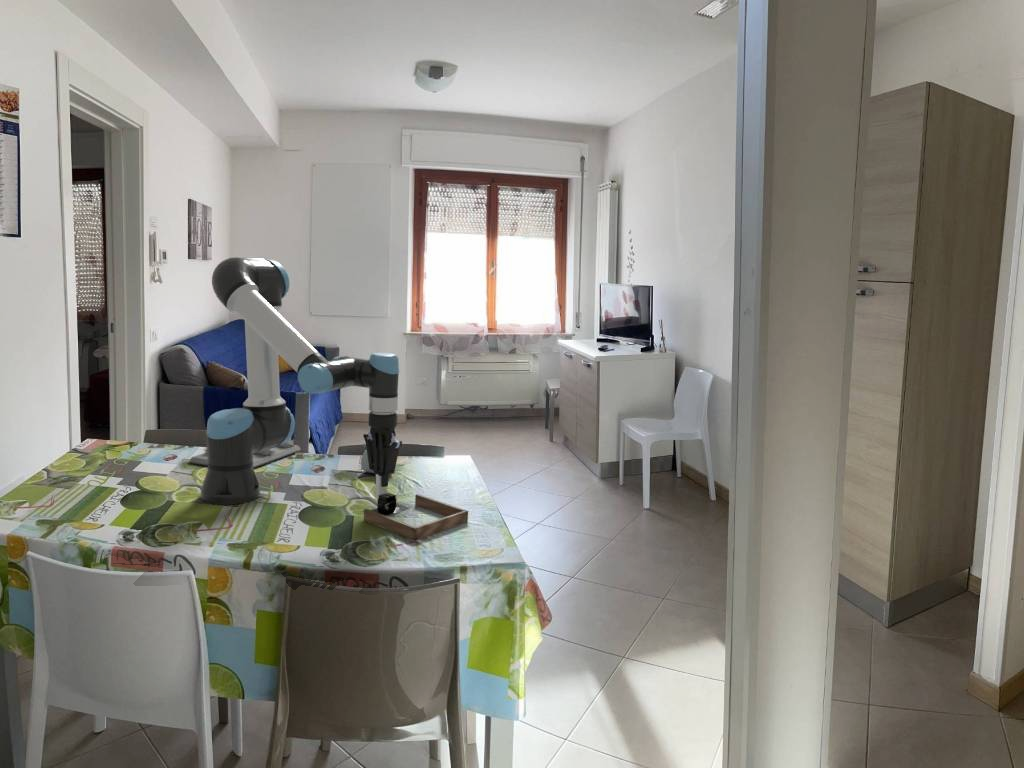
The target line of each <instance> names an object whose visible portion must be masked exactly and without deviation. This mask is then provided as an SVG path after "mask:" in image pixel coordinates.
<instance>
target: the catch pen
mask: <svg viewBox="0 0 1024 768" xmlns="http://www.w3.org/2000/svg"><path fill="white" fill-rule="evenodd" d="M414 501H415V503H414V506H417V507H420V508H422V509H425V510H428V511H431V512H434V513H437V514H440V515H443V516H444V517H441V518H438V519H435V520H432V521H429V522H426V523H424V524H420V525H417V526H414V525H411V524H408V523H405V522H403V521H400V520H399V519H395V518H393V517H390V516H388V515H387V516H385V515H382V514H379V513H377V512H374V511H371V510H370V509H368V508H363V511H364V512H363V521H364V522H366V523H369V524H371V525H375V526H377V527H380V528H382V529H385V530H387V531H389V532H392V533H394V534H397V535H399V536H401V537H405V538H407V539H410V540H413V541H417V540H421V539H423V538H427V537H429V536H432V535H434V534H437V533H440V532H442V531H446V530H449V529H451V528H454V527H457V526H460V525H463V524H465V523H468V522H469V510H466V509H464V508H460V507H457V506H454V505H452V504H448V503H446V502H443V501H440V500H437V499H434V498H432V497H431V498H430V497H427V496H425V495H422V494H419V493H416V494H415V499H414Z"/></svg>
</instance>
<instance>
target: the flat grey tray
mask: <svg viewBox="0 0 1024 768" xmlns="http://www.w3.org/2000/svg"><path fill="white" fill-rule="evenodd" d="M294 443H295V442H294V439H292V437H291V438H290V439H289V440H288V441H287V442H285V443H284V444H281V445H279V446H278V447H275V448H269V449H266V450H263V451H259V452H256V453H253V469H254V470H255V468H258V467H261V466H264V465H267V464H269V463H272V462H275V461H277V460H279V459H282V458H283V459H284V458H285V457H289V456H290V455H291V456H292V455H294V454H297V453H299V452H300V451H301V450H302V449H301V447H300V445H297V444H294ZM189 462H190V463H191V464H194V465H195V464H196V465H201V466H205V467H208V460H207V444H206V445H205V448H204V449H203V453H201V454H198V455H195V456H192V457H191V458H190V459H189Z"/></svg>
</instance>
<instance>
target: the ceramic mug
mask: <svg viewBox="0 0 1024 768" xmlns="http://www.w3.org/2000/svg"><path fill="white" fill-rule="evenodd" d="M373 465H374V464H373ZM360 467H361V469H362V470H363V471H364V472H366V473H371V474H375V473H374V471H373V470H370V469H369V463H368V456H367V448H366V449H365V450H364V451H363V454H362V456H361V460H360Z"/></svg>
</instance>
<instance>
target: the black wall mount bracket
mask: <svg viewBox="0 0 1024 768" xmlns="http://www.w3.org/2000/svg"><path fill="white" fill-rule="evenodd" d="M396 496H397V495H396V494H394V493H391V492H387V493H386V494H382V495H379V499H378V498H377V503H376V505H377V507H375V508H371V509H369V510H371V511H374V512H377V513H379V514H382V515H385V516H387V517H388V516H391V515H393V514H397V513H400V512H404V511H407V510H410V507H407V506H404V505H402V504H400V503H397V497H396ZM362 513H364V510H363V511H362Z"/></svg>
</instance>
